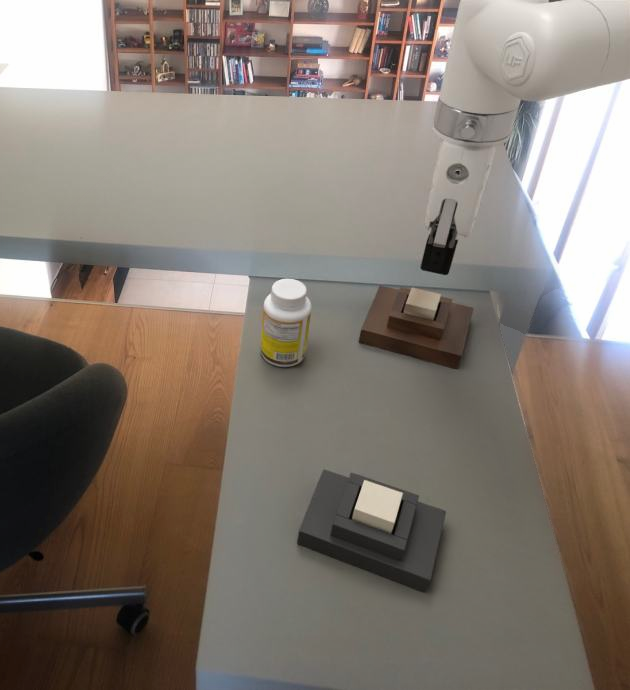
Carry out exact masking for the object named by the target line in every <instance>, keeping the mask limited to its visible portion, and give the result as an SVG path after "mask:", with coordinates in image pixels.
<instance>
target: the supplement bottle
mask: <svg viewBox="0 0 630 690" xmlns="http://www.w3.org/2000/svg"><path fill="white" fill-rule="evenodd" d="M262 308H263V309H262V321H261V338H260V354H261V356H262V358H263V359H264V360H265V361H266V362H267V363H269V364H270V365H273V366H276V367H280V368H281V367H282V368H289V367H293V366H296V365H298V364H300V363H301V362H302V361H303V360H304V358H305V356H306V352H307V342H308V337H309V330H310V322H311V314H312V302H311V299H309V298H308V296H307V287H306V285H305V284H304V283H303V282H302V281H300V280H299V279H298V280H297V279H294V278H282V279H279V280H276V281H275V282H274V283H273V284H272V286H271V291H270V293H269V294H268V295H267V296H266V297H265V298H264V302H263V307H262Z"/></svg>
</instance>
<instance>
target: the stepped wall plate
mask: <svg viewBox="0 0 630 690" xmlns="http://www.w3.org/2000/svg"><path fill="white" fill-rule="evenodd" d="M364 480H366V481H369V482H372V483H375V484H378V485H381V486H384V487H387V488H390V489H393V490H396V491H399V492H402V493H403V495H402V499H401V502H400V506H399V509H398V513H397V517H396V520H395V524H394V527H393V530H392V533H391V534H390V533H387V532H384V531H382V530H379V529H376V528H373V527H370V526H368V525H365V524H362V523H359V522H357V521H354V520H352V517H353V513H354V509H355V506H356V503H357V500H358V497H359V494H360V491H361V488H362V485H363V482H364ZM419 497H420V495H419V494H416V493H413V492H412V491H411V492H410V491H408V490H405V489H402V488H398V487H395V486H393V485H390V484H387V483H384V482H381V481H378V480H375V479H372V478H369V477H366V476H363V475H361V474H357V473H354V472H350V474H349V477H348V476H346V475H342V474H339V473H337V472H334V471H330V470H328V469H324V468H323V470H322V471H321V474H320V477H319V479H318V481H317V483H316V487H315V489H314V491H313V493H312V497H311V499H310V502H309V505H308V506H307V509H306V512H305V515H304V516H303V520H302V522H301V524H300V526H299V530H298V534H297V539H296V544H297V545H300V546H302V547H304V548H307V549H310V550H313V551H315V552H317V553H319V554H323V555H325V556H327V557H330V558H334V559H336V560H339V561H341V562H343V563H347V564H349V565H351V566H354V567H357V568H359V569H362V570H365V571H367V572H370V573H372V574H375V575H378V576H380V577H382V578H384V579H385V578H386V579H389V580H391V581H393V582H396V583H399V584H401V585H404V586H406V587H409V588H411V589H414V590H417V591H419V592H422V593H426V592H427V590H428V588H429V585H430V583H431V581H432V576H433V571H434V568H435V564H436V559H437V554H438V550H439V545H440V541H441V537H442V532H443V528H444V522H445V518H446V513H447V511H446V510H445V509H442V508H439V507H436V506H433V505H430V504H427V503H424V502H422V501H419Z"/></svg>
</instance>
